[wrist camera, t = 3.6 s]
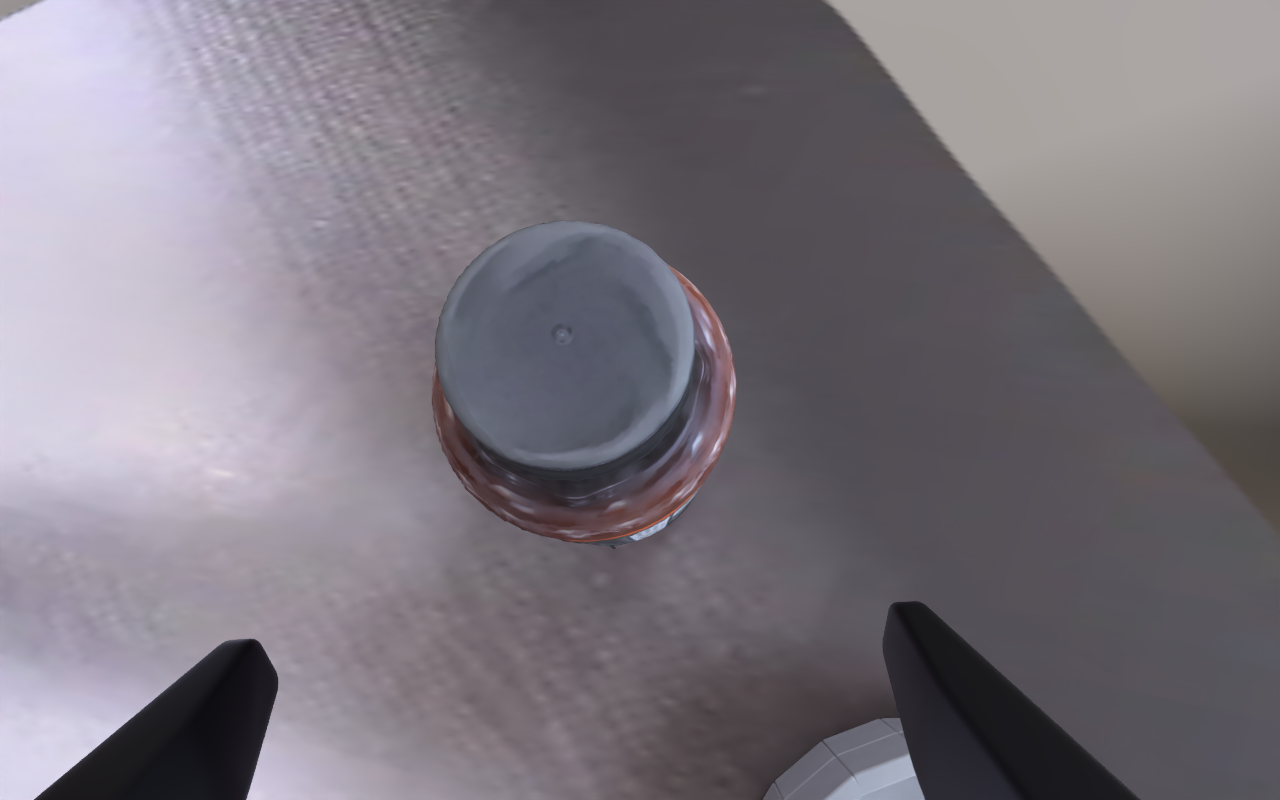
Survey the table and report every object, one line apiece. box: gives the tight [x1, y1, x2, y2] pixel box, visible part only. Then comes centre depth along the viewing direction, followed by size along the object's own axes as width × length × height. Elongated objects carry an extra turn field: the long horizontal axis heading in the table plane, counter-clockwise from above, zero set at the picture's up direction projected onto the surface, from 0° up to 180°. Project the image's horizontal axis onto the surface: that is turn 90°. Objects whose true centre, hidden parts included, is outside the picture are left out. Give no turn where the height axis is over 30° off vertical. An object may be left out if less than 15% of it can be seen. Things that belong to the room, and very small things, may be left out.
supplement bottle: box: [432, 221, 736, 549], centre depth 15 cm, size 6×6×11 cm
